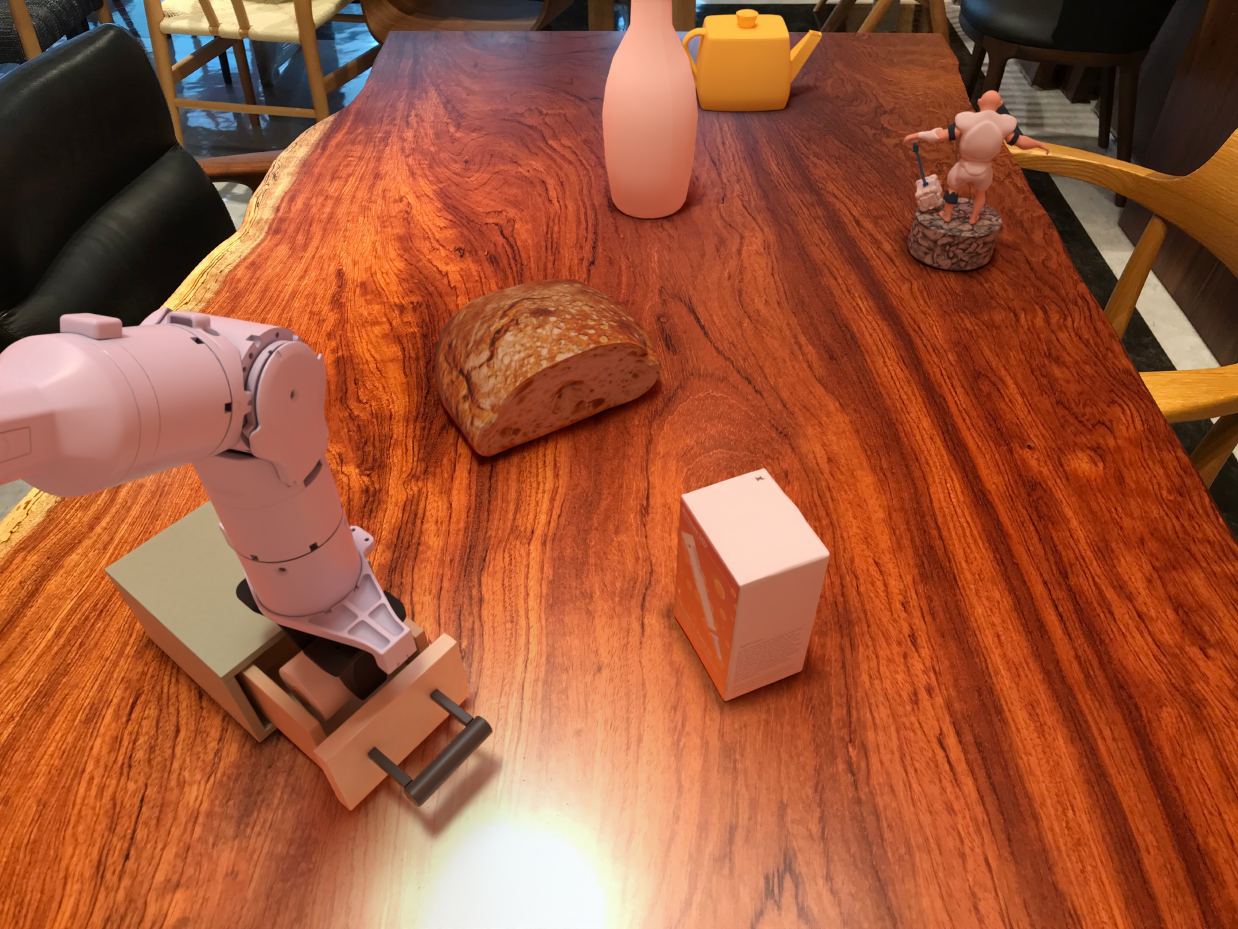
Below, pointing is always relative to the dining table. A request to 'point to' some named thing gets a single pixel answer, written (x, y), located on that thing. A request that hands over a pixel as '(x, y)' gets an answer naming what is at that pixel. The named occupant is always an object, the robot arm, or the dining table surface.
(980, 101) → the figurine
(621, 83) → the bottle
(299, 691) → the paper towel roll
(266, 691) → the drawer
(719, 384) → the dining table surface
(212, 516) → the cabinet
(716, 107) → the teapot
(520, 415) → the bread
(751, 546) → the small box
